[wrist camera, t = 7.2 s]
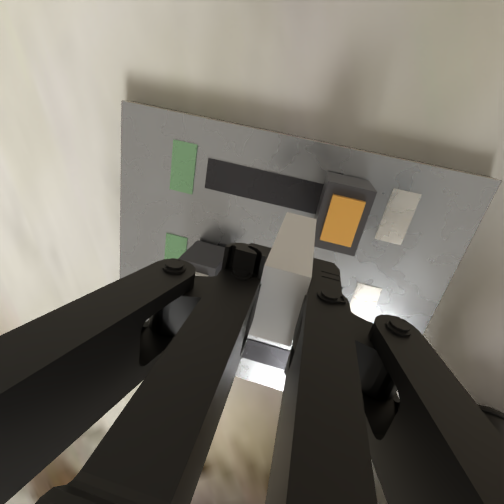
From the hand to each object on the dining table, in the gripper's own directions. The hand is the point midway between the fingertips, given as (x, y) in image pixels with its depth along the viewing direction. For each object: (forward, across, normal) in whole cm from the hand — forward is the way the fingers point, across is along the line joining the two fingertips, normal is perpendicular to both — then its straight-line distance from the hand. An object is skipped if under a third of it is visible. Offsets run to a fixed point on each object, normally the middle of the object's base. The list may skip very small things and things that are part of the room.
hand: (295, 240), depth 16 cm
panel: (+11, +2, +8) cm, 13 cm away
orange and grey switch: (+9, -2, 0) cm, 10 cm away
